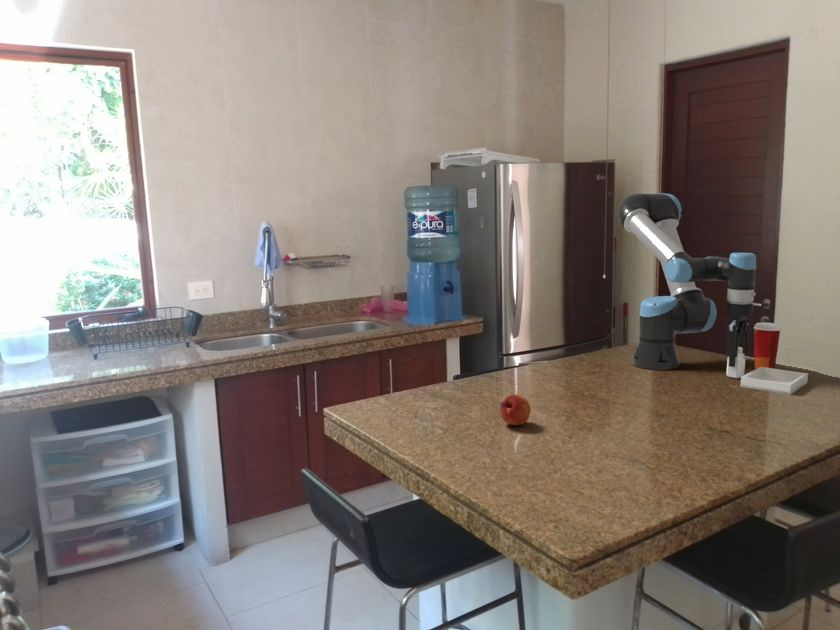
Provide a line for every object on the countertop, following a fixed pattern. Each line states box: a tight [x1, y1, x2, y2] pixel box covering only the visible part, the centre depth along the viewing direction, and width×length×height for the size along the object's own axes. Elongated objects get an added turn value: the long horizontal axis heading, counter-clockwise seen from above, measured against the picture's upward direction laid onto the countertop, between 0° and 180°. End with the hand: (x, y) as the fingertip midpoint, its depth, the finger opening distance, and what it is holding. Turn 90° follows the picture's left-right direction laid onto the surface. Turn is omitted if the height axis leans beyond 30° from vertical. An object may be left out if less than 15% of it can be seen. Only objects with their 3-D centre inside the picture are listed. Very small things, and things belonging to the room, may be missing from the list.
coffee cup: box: [753, 322, 782, 369], centre depth 222 cm, size 8×8×15 cm
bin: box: [740, 367, 809, 396], centre depth 202 cm, size 14×18×3 cm
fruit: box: [499, 394, 532, 426], centre depth 168 cm, size 8×8×8 cm
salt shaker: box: [726, 347, 746, 379], centre depth 212 cm, size 4×4×10 cm
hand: (735, 374), depth 212 cm, fingers closed on salt shaker, 5 cm apart
